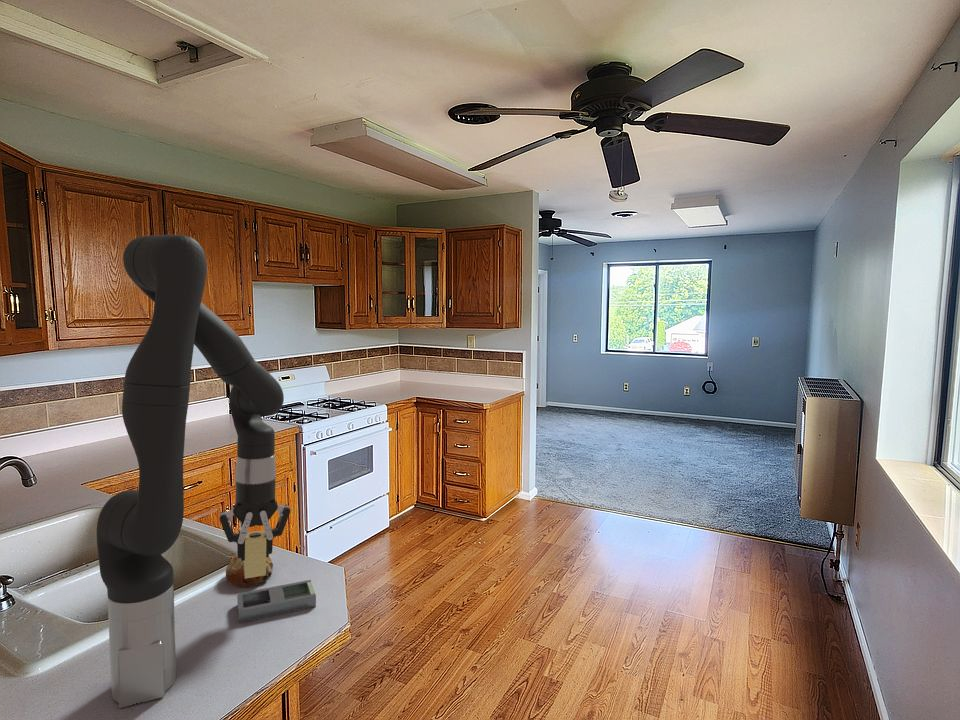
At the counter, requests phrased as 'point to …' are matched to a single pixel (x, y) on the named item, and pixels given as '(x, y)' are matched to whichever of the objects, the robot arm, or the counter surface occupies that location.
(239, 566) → the bread roll
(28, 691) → the counter surface
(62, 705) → the counter surface
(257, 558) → the tall beige wooden block
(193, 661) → the counter surface
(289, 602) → the grey block holder
